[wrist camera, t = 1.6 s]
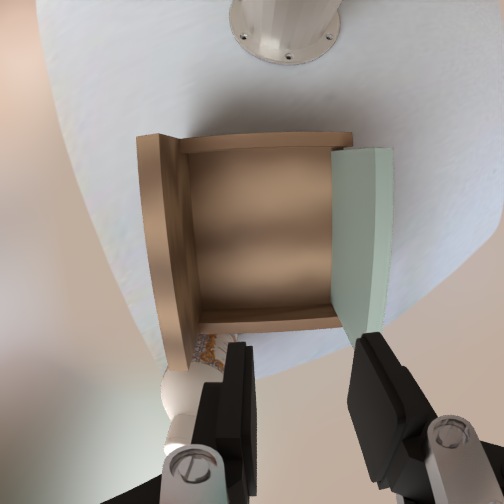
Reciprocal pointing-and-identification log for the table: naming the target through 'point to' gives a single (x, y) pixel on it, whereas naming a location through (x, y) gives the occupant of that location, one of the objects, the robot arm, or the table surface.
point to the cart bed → (238, 233)
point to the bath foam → (192, 387)
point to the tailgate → (361, 237)
